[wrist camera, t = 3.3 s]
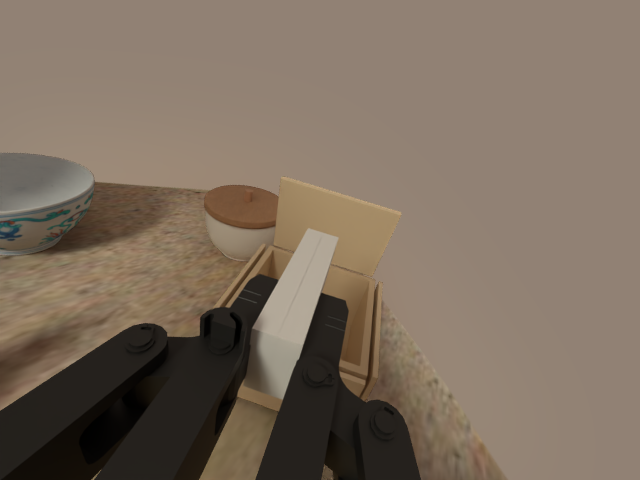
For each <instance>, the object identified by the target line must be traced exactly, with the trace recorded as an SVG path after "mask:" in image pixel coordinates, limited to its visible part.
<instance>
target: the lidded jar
mask: <svg viewBox="0 0 640 480" xmlns="http://www.w3.org/2000/svg"><path fill="white" fill-rule="evenodd" d="M278 199H279V197H278V196H277V195H275V194H273V193H271V192H268V191H266V190H263V189H260V188H256V187H251V186H244V185H228V186H221V187H218V188H215V189H213V190H211V191H209V192H208V193H207V194H206V196H205V200H204V207H205V223H206V229H207V233H208V236H209V238H210V240H211V242H212V243H213V244H214V246H215V247H216V248H217V249H218V250H220V251H221V252H222V254H223V255H224V256H226V257H227V258H229V259H232V260H235V261H242V262H246V261H250V259H251V258H252V257H253V255H254V254H255V253H256V252H257V250H258V249H259V248H260V246H261V245H262V244H266V248H265V251H266V250H267V249H268V247H269V246H274V236H275V227H276V218H277V209H278Z"/></svg>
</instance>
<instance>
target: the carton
mask: <svg viewBox="0 0 640 480" xmlns="http://www.w3.org/2000/svg"><path fill="white" fill-rule="evenodd" d="M265 248H266V244H262V245H261V246H260V248H259V249H258V250H257V252H256V253H255V254H254V255H253V257H252V258H251V259H250V261H249V262H248V263H247V264H246V266H245V267H244V268H243V270H242V271H241V272H240V273H239V275H238V276H237V277H236V279H235V280H234V281H233V282H232V284H231V285H230V286H229V288H228V289H227V290H226V291H225V293H224V294H223V295H222V297H221V298H220V299H219V300H218V302H217V303H216V304H215V306H214V307H213V308H212V309H214V308H219V307H228V308H230V306H231V305H232V303H233V302H234V301H235V299H236V298H237V297H238V295H239V294H240V292H241V291H242V290H243V288H244V287H245V285H246V284H247V282H248V281H249V280H250V279H251V278H253V277H255V276H257V275H258V274H262V275H265V276H268V277H271V278H274V279H278V280H279V279H280V278H281V276H282V274H283V272H284V271H285V269H286V267H287V265H288V263H289V262H290V260H291V258H292V256H293V254H294V253H292V252H289V251H286V250H283V249H280V248H277V247H274V246H269V247H268V249H267V250H266V251H265ZM374 290H375V291H374ZM322 293H324V294H327V295H330V296H333V297H336V298H340V299H343V300H345V301H346V304H347V307H348V310H349V313H348V319H347V324H346V330H345V335H344V341H343V346H342V352H341V357H340V362H339V373H340V377H341V379H342V381H343V383H344V384H345V385H346V387H347V388H348V389H349V390H350V391H351V392H352V393H354V394H355V395H356V396H358V397H359V398H360V399H362V400H363V401H366V399H367V397H368V396H369V394H370V392H371V390H372V388H373V387H374V385H375V383H376V381H377V379H378V368H379V347H380V326H381V305H382V282H380V281H379V282H378V285H377V287H376V289H375V279H372V278H369V277H366V276H363V275H360V274H357V273H354V272H351V271H348V270H345V269H342V268H338V267H335V266H332V265H330V268H329V272H328V275H327V278H326V282H325V285H324V288H323V291H322ZM212 309H211V310H212ZM243 384H244V380H243V382H242V384H241V386H240V388H239V390H238V395H237V397H239V398H242V399H245V400H248V401H251V402H253V403H256V404H259V405H262V406H264V407H267V408H270V409H273V410H275V411H278V412H279V409H280V407H281V404H282V401H283V400H282V399H279V398H276V397H273V396H270V395H267V394H264V393H262V392H259V391H256V390H253V389H250V388H247V387H244V386H243Z"/></svg>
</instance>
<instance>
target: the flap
mask: <svg viewBox="0 0 640 480" xmlns="http://www.w3.org/2000/svg"><path fill="white" fill-rule="evenodd" d="M400 217H401V212H399V211H396V210H392V209H389V208H386V207H383V206H379V205H376V204H372V203H369V202H366V201H363V200H359V199H356V198H353V197H350V196H347V195H343V194H340V193H337V192H333V191H330V190H327V189H324V188H321V187H317V186H314V185H311V184H307V183H304V182H301V181H298V180H294V179H291V178H288V177H285V176H282V178H281V181H280V191H279V199H278V209H277V218H276V227H275V236H274V246H278V247H281V248H284V249H287V250H290V251H293V252H295V251H296V249H297V247H298V246H299V244H300V242H301V240H302V238H303V237H304V235H305V233H306V231H307V229H308V228H309V229H313V230H316V231H319V232H323V233H326V234H329V235H332V236H336V237H339V238H338V242H337V245H336V248H335V252H334V255H333V258H332V262H331V264H333V265H336V266H339V267H343V268H346V269H349V270H352V271H355V272H358V273H361V274H364V275H367V276H371V277H372V276H373V274H374V272H375V270H376V267H377V265H378V263H379V261H380V259H381V257H382V254H383V253H384V251H385V249H386V246H387V244H388V242H389V240H390V238H391V236H392V234H393V231H394V230H395V227H396V225H397V223H398V221H399V219H400Z"/></svg>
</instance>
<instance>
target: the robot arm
mask: <svg viewBox="0 0 640 480" xmlns="http://www.w3.org/2000/svg"><path fill="white" fill-rule="evenodd" d="M338 238H339V237H336V236H332V235H329V234H326V233H323V232H319V231H316V230H313V229H309V228H308V229H307V231H306V233H305V235H304V237H303V238H302V240H301V242H300V244H299V246H298V247H297V249H296V251H295V253H294V254H293V256H292V258H291V260H290V262H289V263H288V265H287V267H286V269H285V271H284V272H283V274H282V276H281V278H280V279H279V280H278V279H274V278H271V277H268V276H265V275H262V274H258V275H257V276H255V277H253V278H251V279H250V280H249V281H248V282H247V284H246V285H245V287H244V288H243V290H242V291H241V292H240V294H239V295H238V297H237V298H236V299H235V301H234V302H233V303H232V305H231V306H230V308H228V307H219V308H214V309H212V310H209V311H207V312H206V313H204V314H203V315H202V316H201V317H200V336H197V337H167V332H166V331H165V330H164V329H163V328H162V327H161V326H158V325H156V324H148V323H143V324H138V325H134V326H132V327H130V328H127V329H125V330H123V331H122V332H120V333H119V334H117V335H116V336H114V337H113V338H111V339H110V340H108V341H107V342H105V343H104V344H102V345H100V346H99V347H97V348H96V349H94V350H93V351H91V352H90V353H88V354H87V355H85V356H84V357H82V358H81V359H79V360H77V361H76V362H74V363H73V364H71V365H70V366H68V367H67V368H65V369H64V370H62V371H61V372H59V373H58V374H56V375H54V376H53V377H51V378H50V379H48V380H47V381H45V382H44V383H42V384H41V385H39V386H38V387H36V388H35V389H33V390H31V391H30V392H28V393H27V394H25V395H24V396H22V397H21V398H19V399H18V400H16V401H15V402H13V403H12V404H10V405H8V406H7V407H5V408H4V409H2V410H1V411H0V480H91V479H92V478H93V477H94V476H95V475H96V474H97V473H98V472H99V471H100V470H101V469H102V468H103V469H102V470H101V471H100V473H99V474H98V475H97V477H96V478H95V479H94V480H199V478H200V476H201V474H202V472H203V470H204V468H205V466H206V464H207V462H208V460H209V457H210V455H211V453H212V451H213V449H214V447H215V445H216V443H217V441H218V439H219V437H220V435H221V432H222V430H223V428H224V426H225V424H226V422H227V420H228V418H229V416H230V414H231V412H232V409H233V407H234V405H235V403H236V399H237V395H238V390H239V388H240V386H241V384H242V382H243V380H244V384H243V386H244V387H247V388H250V389H253V390H256V391H259V392H262V393H264V394H267V395H270V396H273V397H276V398H279V399H282V400H283V401H282V404H281V407H280V409H279V412H278V415H277V418H276V421H275V424H274V427H273V430H272V433H271V436H270V439H269V442H268V444H267V447H266V450H265V453H264V456H263V459H262V462H261V465H260V468H259V471H258V474H257V477H256V480H321V478H322V472H323V467H324V464H325V465H326V466H328V467H329V468H330V469H331V470H332V471H333V478H334V480H421V478H420V474H419V470H418V466H417V463H416V459H415V455H414V451H413V447H412V443H411V440H410V436H409V432H408V428H407V425H406V423H405V421H404V418H403V417H402V415H401V414H400V413H399V412H398V410H397V409H396V408H394V407H393V406H392V405H390V404H389V403H387V402H384V401H380V400H371V401H368V402H367V403H366V402H365V401H363V400H362V399H360V398H359V397H358V396H356V395H355V394H354V393H352V392H351V391H350V390H349V389H348V388H347V387H346V385H345V384H344V383H343V381H342V379H341V377H340V373H339V362H340V357H341V352H342V346H343V341H344V335H345V330H346V324H347V319H348V313H349V310H348V307H347V304H346V301H345V300H343V299H340V298H336V297H333V296H330V295H327V294H324V293H322V291H323V288H324V285H325V282H326V278H327V275H328V272H329V268H330V265H331V262H332V258H333V255H334V252H335V248H336V245H337V242H338Z"/></svg>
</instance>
